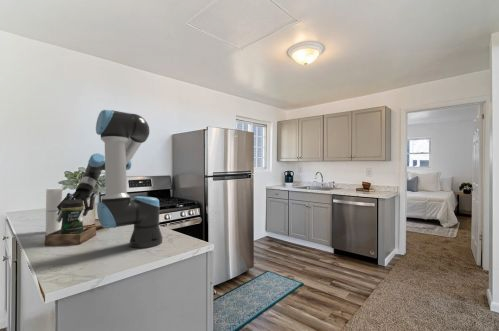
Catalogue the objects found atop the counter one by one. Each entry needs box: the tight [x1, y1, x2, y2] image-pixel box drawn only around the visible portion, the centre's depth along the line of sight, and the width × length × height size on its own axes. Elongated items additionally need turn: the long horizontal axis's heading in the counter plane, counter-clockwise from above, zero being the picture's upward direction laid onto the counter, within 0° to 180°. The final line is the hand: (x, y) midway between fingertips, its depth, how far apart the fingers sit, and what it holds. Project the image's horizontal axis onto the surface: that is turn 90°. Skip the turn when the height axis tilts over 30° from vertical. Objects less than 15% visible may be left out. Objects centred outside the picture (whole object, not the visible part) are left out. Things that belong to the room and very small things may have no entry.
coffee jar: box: [60, 198, 85, 234], centre depth 125 cm, size 10×8×19 cm
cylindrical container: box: [45, 187, 63, 235], centre depth 139 cm, size 7×7×25 cm
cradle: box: [44, 226, 97, 246], centre depth 124 cm, size 16×16×5 cm
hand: (68, 220), depth 121 cm, fingers closed on coffee jar, 9 cm apart
